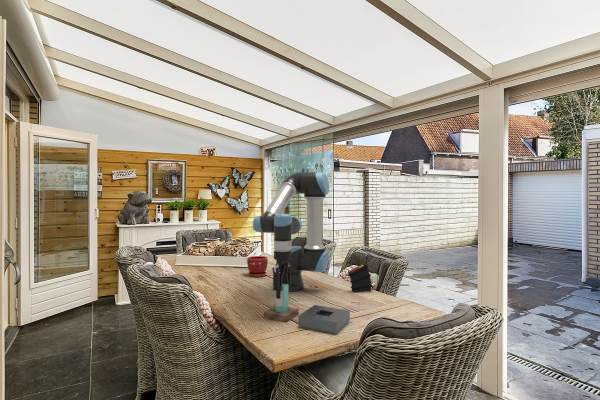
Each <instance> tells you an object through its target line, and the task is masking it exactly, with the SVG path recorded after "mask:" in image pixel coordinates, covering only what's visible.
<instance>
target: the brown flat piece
mask: <svg viewBox="0 0 600 400" xmlns="http://www.w3.org/2000/svg"><path fill="white" fill-rule="evenodd" d="M299 311H300V309H299V308H297V307H290V306H288V311H287V312H285V313H281V312H276V305H274V306H272V307H270V308H269V309H267V310H265V311H263V319H268V320H273V321H277V322H278V321H279V322H283V323H288V322H290V321H291V320H293V319H294V318H296V317H297V316H299V315H300V313H299Z"/></svg>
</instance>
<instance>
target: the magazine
mask: <svg viewBox="0 0 600 400" xmlns="http://www.w3.org/2000/svg"><path fill="white" fill-rule="evenodd" d="M371 275H372V274H370V271H369V266H368V264H366V263H362V264H360V265H358V266H356V267H355V268H352V269H351V270H349V271H347V276H348V277H349V278H350V281H349V283H350V284H351V286H350V289H351V292H353V293H361V292H360V291H366V292H372V287H373V284H372V279H371V277H372V276H371Z"/></svg>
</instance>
